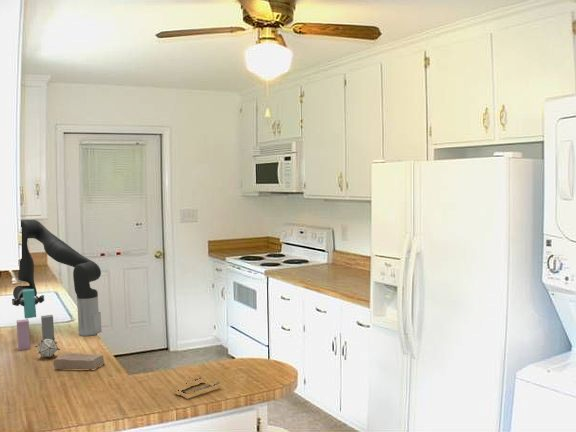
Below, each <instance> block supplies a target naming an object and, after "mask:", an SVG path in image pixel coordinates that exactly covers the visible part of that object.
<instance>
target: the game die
mask: <svg viewBox="0 0 576 432" xmlns="http://www.w3.org/2000/svg"><path fill="white" fill-rule="evenodd" d="M55 339H56V338H55V337H54V338H53V339H46V337H45V339H44V340H43V339H41V340H40V342H39V344H38V345H35V346H34V347H35V348H37V350H38V353H37V354H38V355H40V359H42V358H43V357H44V358H48V359H49V360H51V357H52V356H55V353H56V352H57V351H60V350H61V349H60V348H59V347H58V346H57V343H58V342H56V341H54V340H55Z"/></svg>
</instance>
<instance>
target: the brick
mask: <svg viewBox="0 0 576 432" xmlns="http://www.w3.org/2000/svg"><path fill="white" fill-rule="evenodd" d="M102 364H104V365H105V359H104V355H103V354H102V353H101V354H96V353H94V354H93V353H91V354H89V353H88V354H83V353H76V352H75V353H74V352H64V353H62V354H61V355H59V356H57V357H56V358H54V359H53V367H54V370H57V369H95V368H97V367H98V366H100V365H102Z"/></svg>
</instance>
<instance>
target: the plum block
mask: <svg viewBox="0 0 576 432" xmlns="http://www.w3.org/2000/svg"><path fill="white" fill-rule="evenodd" d="M29 322H30V321H29V318H26V319H25V318H24V319H18V320H16V332H17V333H16V334H17V347H18V351H24V350H30V349H31V338H30V337H31V336H30V323H29Z"/></svg>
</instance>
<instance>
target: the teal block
mask: <svg viewBox="0 0 576 432" xmlns="http://www.w3.org/2000/svg"><path fill="white" fill-rule="evenodd" d="M23 300H24V306H23V314H24V320H25V319H31V318H32V319H33V318H37V310H36V309H37V308H36V307H37V306H36V305H35V293H34V289H29V290H23Z"/></svg>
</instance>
